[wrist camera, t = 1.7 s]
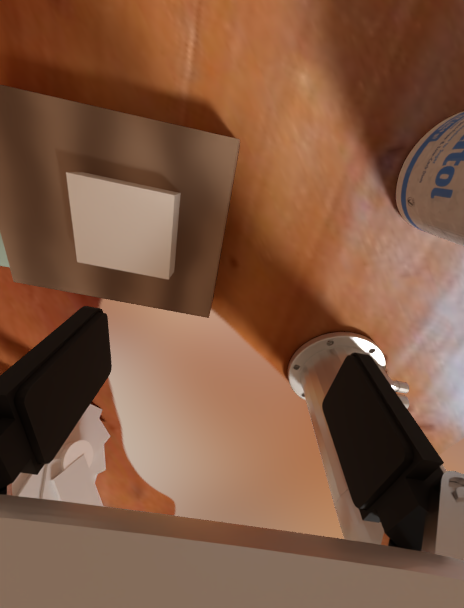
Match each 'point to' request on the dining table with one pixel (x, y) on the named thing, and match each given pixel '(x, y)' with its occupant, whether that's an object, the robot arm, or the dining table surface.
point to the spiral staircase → (71, 466)
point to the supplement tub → (435, 182)
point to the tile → (123, 224)
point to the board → (117, 165)
